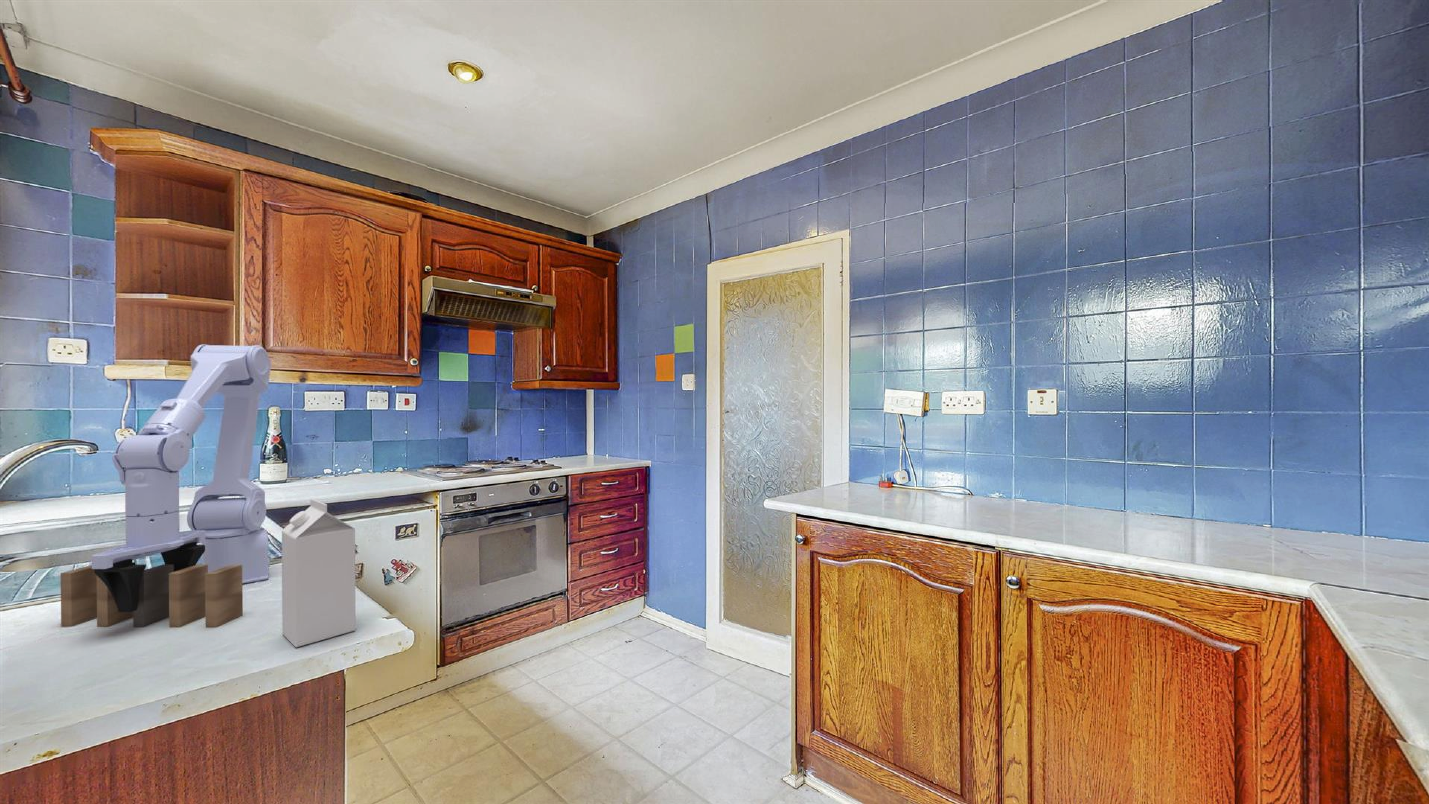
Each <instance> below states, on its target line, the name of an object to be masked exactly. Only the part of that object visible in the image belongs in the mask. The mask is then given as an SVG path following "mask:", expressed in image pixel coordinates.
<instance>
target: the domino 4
mask: <svg viewBox="0 0 1429 804" xmlns="http://www.w3.org/2000/svg"><path fill="white" fill-rule="evenodd" d="M243 597H244V596H243V584H242V565H229V566H226V567H224V568H221V569H218V570H215V571H212V572H209V573H206V574H205V617H204V618H205V628H215V629H216V628H218V627H220V626H223V625H225V624H227V623H229V622H231V621H234V620H236V619H238V618H240V617H242V616H244V614H243V611H244V610H243V605H244V604H243V603H244V602H243Z"/></svg>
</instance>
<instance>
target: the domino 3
mask: <svg viewBox="0 0 1429 804" xmlns="http://www.w3.org/2000/svg"><path fill="white" fill-rule="evenodd" d="M206 573H208V565H202V563H201V564H198V563H197V564H196V565H195V566H191V567H188V568H185V569H182V570H179V571H175V572H172V573H169V617H168V618H169V619H168V620H169V621H168V622H169V623H168V626H169V628H181V627H184V626H187V625H189V624H191V623H194V622H196V621H198V620H201V619H203V618H206V617H205V574H206Z"/></svg>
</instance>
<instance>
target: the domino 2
mask: <svg viewBox="0 0 1429 804" xmlns="http://www.w3.org/2000/svg"><path fill="white" fill-rule="evenodd" d="M135 565H140V564H137V563H135ZM130 619H133V612H119V611H118V608H117V606H116V603H115V601H114V598H113V596H112V594H111V592H110V591H109V589H108V587H107V586H106V585H105V583H104V582H103V581H102V580H101V579H100V578H99V577H98V576H97V618H96V627H97V628H103V627H104V628H108V627H111V626H115V625H116V624H120V623H122V622H124V621H127V620H130Z"/></svg>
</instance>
